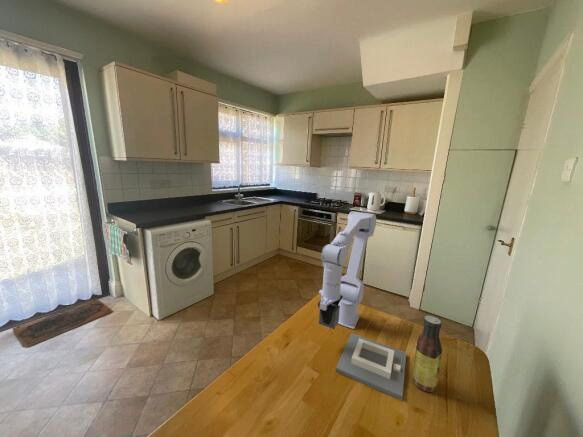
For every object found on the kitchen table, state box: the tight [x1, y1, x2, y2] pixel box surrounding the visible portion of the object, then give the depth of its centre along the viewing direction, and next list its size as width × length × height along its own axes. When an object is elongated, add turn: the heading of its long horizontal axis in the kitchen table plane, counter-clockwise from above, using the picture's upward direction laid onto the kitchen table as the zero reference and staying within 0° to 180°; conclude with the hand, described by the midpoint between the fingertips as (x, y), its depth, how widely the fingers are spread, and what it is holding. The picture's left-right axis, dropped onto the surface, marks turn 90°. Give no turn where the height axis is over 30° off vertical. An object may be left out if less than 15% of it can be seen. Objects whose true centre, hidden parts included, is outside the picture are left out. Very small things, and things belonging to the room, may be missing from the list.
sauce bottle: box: [411, 315, 443, 393], centre depth 65 cm, size 6×6×20 cm
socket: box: [335, 332, 407, 401], centre depth 73 cm, size 18×18×3 cm
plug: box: [318, 303, 340, 331], centre depth 79 cm, size 4×5×7 cm
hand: (329, 319), depth 79 cm, fingers closed on plug, 4 cm apart
